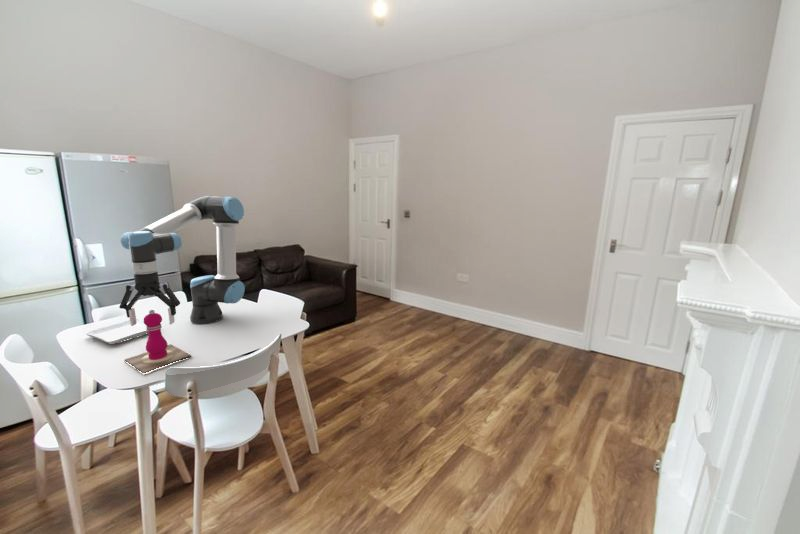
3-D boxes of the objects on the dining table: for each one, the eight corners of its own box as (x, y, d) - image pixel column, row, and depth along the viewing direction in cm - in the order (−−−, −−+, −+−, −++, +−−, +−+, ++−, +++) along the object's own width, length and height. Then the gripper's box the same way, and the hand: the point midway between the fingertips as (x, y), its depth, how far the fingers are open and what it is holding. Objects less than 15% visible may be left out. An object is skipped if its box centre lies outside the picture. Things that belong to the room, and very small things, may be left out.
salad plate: (136, 323, 177) (135, 317, 177) (161, 332, 168) (160, 325, 168) (85, 339, 159) (83, 332, 158) (110, 349, 150) (109, 342, 149)
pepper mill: (152, 362, 136) (145, 314, 132) (143, 357, 140) (136, 310, 136) (172, 355, 142) (166, 309, 138) (163, 350, 146) (157, 305, 142)
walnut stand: (124, 362, 139) (124, 358, 139) (171, 346, 153) (170, 343, 153) (143, 375, 130) (143, 371, 130) (191, 357, 144) (190, 354, 144)
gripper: (102, 275, 127) (111, 329, 132) (177, 273, 132) (184, 325, 137) (114, 270, 134) (122, 321, 139) (185, 268, 139) (191, 318, 144)
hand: (153, 323), depth 138 cm, fingers open, 13 cm apart
